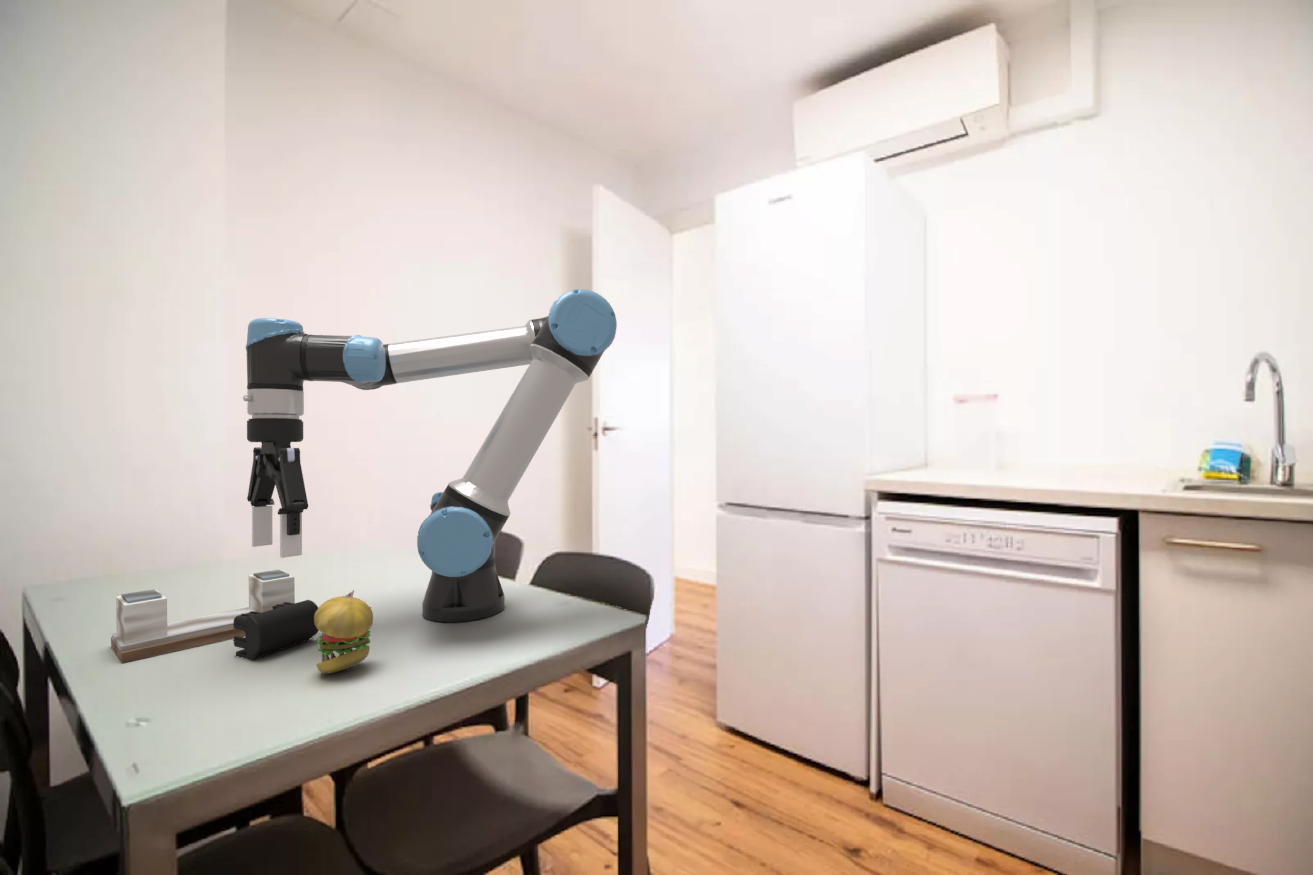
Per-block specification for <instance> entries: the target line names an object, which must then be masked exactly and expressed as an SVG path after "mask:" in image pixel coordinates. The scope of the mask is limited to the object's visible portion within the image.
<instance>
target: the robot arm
mask: <svg viewBox="0 0 1313 875" xmlns="http://www.w3.org/2000/svg"><path fill="white" fill-rule="evenodd" d="M617 326H618V325H617V317H616V313H615V311H614V308H613V307H612V305H611V304H610V302H608V300H607V299H606V298H605V297H604V296H603V295H601V294H599V293H597V292H596V291H593V290H590V289H584V288H577V289H571V290H569V291H567V292H564V293H563V294H562V295H560V296H559V297H558V298H556V299H555V300H554V301H553V303H552V305H551V306H550V308H549V313H548V316H544V317H542V318H541V317H539V318H535V319H534V318H533V319H528V321H527V322H526V324H524V325H522V326H513V327H508V328H507V327H506V328H498V329H492V330H483V331H477V332H476V331H475V332H469V333H460V334H453V335H445V336H437V337H430V338H423V339H413V340H406V341H400V342H391V343H387V344H385V343H383V342H382V341H381V339H379V338H378V337H375V336H374V337H372V336H363V335H359V334H357V335H356V334H355V335H329V334H328V335H327V334H326V335H324V334H308V333H305V331H304V328H303V327H304V326H303V325H302V324H301V322H297V321H295V320H290V319H284V318H282V319H281V318H275V317H260V318H259V317H258V318H254V319H253V320H251V321H250V322H249V323H248V325H247V338H246V345H245V350H246V375H247V378H246V381H247V386H246V388H247V390H246V391H247V394H245V395H243V397H242V399H243V401H244V402H247V404H246V405H247V408H246V410H247V414H248V415H249V416H251V418H248V420H246V440H247V441H248V442H250V443H261V445H260V447H257V446H256V447H254V448H253V450H252V452H253V458H252V466H251V472H250V479H249V485H248V490H247V491H248V492H247V497H246V500H247V502H250V505H251V547H253V548H255V547H264V546H272V545H273V506H275V501H274V498H272V497H273V493H274V492H275V487H276V491H277V495H278V498H279V503H280V506H281V507H280V508H279V509H278V510H277V515H279V557H280V558H281V559H284V558H290V557H291V558H292V557H297V556H302V555H303V523H302V522H303V513H304V510H307V509H308V508H309V502H308V498H307V497H308V496H307V492H306V487H305V486H306V485H305V480H304V474H303V469H302V463H301V450H300V448H299V447H292V446H291V445H292V444H291V443H301V442H302V441H304V421H303V420H302V419H300V417H302V416H303V415H305V414H304V412H305V410H304V408H305V406H304V405H305V404H304V403H305V402H304V401H305V399H304V397H305V396H304V395H305V393H304V382H335V383H344V384H346V385H350V386H352V387H354V388H356V389H358V390H362V391H368V390H369V391H370V390H371V391H372V390H377V389H380V388H382V387H384V386H391V385H396V384H404V383H409V382H416V381H423V380H428V379H429V380H430V379H438V378H443V377H444V378H445V377H450V376H457V375H464V374H473V373H478V372H485V371H493V370H499V369H506V368H515V367H519V366H526V365H527V366H528V367H527V368H526V370H525V372H524V373H523V375H522V377H521V378H520V380H519V381H518V383H517V386H516V388H515V389H514V390H513V393H512V394H511V396H510V397H509V398H508V401H507V402H506V404H505V405H504V407H503V408H502V411H501V413H500V414H499V416H498V417H497V419H496V420H495V423H494V424H493V426H492V427H491V429H490V431H489V433H488V435H487V436H486V437H485V439H484V442H483V443H482V445H481V446H480V448H479V449H478V452H477V453H476V455H475V456H474V458H473V460H472V461H471V463H470V465H469V466H468V468H467V470H466V472H464V473H465V474H464V475H463V476H462V477H461V478H459V479H455V480H451V481H450V482H448V484H447V486H446V488H445V489H444V491H440V492H436V493H434V494H433V495H432V497H431V504H430V505H429V506H430V510H431V512H430V514H429V515H428V516H427V517H425V519H424V520H423V522H421V523H420V526H419V527H418V528H419V529H418V531H417V538H416V539H417V541H416V542H417V543H416V545H417V546H416V548H417V551H418V556H419V557H420V559H421V561H422V562H423V564H424V565H425V566H426V567H427V568H428V569H429V570H430V571H431V576H430V578H429V582H428V584H427V588H426V590H425V594H424V597H423V600H422V604H421V605H422V607H421V608H422V611H421V612H422V613H421V614H422V617H423V618H425V619H426V620H429V621H432V622H433V621H434V622H443V623H457V622H458V623H460V622H468V621H475V620H481V619H484V618H489V617H491V616H494V615H497V614H499V613H500V612H502V611H503V610H504V609H505V608H506V604H505V603H506V598H505V593H504V590H503V587H502V584H501V581H500V578H499V576H498V575H499V574H498V573H497V569H496V540H497V539H498V536H499V535H500V533H501V531H502V529H503V528H504V526H505V525H506V523H507V521H508V519H509V518H510V516H511V510H510V507H509V500H510V498H511V497H512V495H513V493H514V491H515V490H516V488H517V486H518V485H519V482H520V481H521V479H522V478H523V476H524V474H525V472H526V471H527V468H529V465H530V464H531V462H532V460H533V458H534V456H535V455H536V453H537V451H538V450H539V448H540V446H541V445H542V443H543V441H544V439H545V438H546V437H547V434H548V432H549V430H550V429H551V427H552V426H553V424H554V422H555V421H556V418H557V416H558V415H559V413H560V412H561V411H562V408H563V406H564V405H565V404H566V403H565V402H566V401H567V399H568V398H569V396H570V394H571V393H572V391H573V390H574V387H575V386H576V385H577V384H578V383H582V382H586V381H588V380H589V378H590V377H591V375H592V373H593V372H594V370H595V368H596V366H597V365H598V363H599V361H600V359H601V357H602V356H603V354H604V353H605V351H606V350H607V349H608V348H610V347H611V345H612V344H613V342H614V340H615V338H616V334H617Z"/></svg>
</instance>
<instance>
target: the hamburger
mask: <svg viewBox="0 0 1313 875" xmlns="http://www.w3.org/2000/svg"><path fill="white" fill-rule="evenodd" d="M354 593H355V589H353V590H352V591H351V592H349V593H348V594H346V595H341V596H336V597H332V598H329V599H327V600H326V601H324V602H323V603H322V604H320V606H319V607H318V609H317V611H316V612H315V614H314V622H315V626H316V627H317V629H318V630H319V631H318V632H321V635H320V636H318V640H317V644H318V645H319V647H318V649H317V652H320V653H321V662H319V663H317V664H316V669H317V670H318V671H319V672H320V673H322V674H333V673H337V672H341V671H343V670H347V669H349V668H352V667H354V666H356V665H358V664H360V663H361V662H362V661H364V660H365V659H366V658H367V657H368V656H369V653H370V645H369V644H371V640H370V636H371V627H372V625H373V623H374V614H373V611H372V606H369V605H368V603H367V602H366V601H364V600H362V599H360V598H357V597H355V596H354ZM334 652H335V653H337V654H339V655H337V656H336V655H335V653H334ZM329 655H330V656H329Z"/></svg>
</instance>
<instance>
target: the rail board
mask: <svg viewBox="0 0 1313 875" xmlns="http://www.w3.org/2000/svg"><path fill="white" fill-rule="evenodd" d="M295 597H296V596H295V576H294V575H292V574H290V573H287V572H285V571H283V570H280V569H275V570H274V569H273V570H269V571H268V570H267V571H261V572H255V573H253V574H249V575H248V607H243V608H238V609H232V610H228V611H222V612H218V613H212V614H207V615H201V616H197V617H196V616H195V617H190V618H187V619H182V620H181V619H180V620H175V621H171V622H168V598H167V597H166V595H164V594H163V593H161V592H160V591H159V590H157V589H154V588H153V589H147V590H141V591H133V592H129V593H128V592H127V593H121V595H118V596H115V600H116V602H115V603H116V605H115V606H116V607H115V608H116V609H115V610H116V611H115V612H116V632H115V633H111V637H110V647H111V649H112V650H113V652H114V654H115V655H116V656H117V658H118V660H119V661H120V663H121V664H127V663H130V662H135V661H139V660H144V659H147V658H153V657H157V656H160V655H161V656H162V655H167V654H170V653H174V652H178V651H184V650H187V649H193V648H197V647H201V646H205V645H206V646H207V645H211V644H213V643H214V644H215V643H218V641H219V642H223V641H228V640H232V639H234V636H240V637H245V636H246V634H245V631H244V630H240V629H235V628H234V626H233V624H234V618H235V617H236V616H239V615H241V614H246V613H250V612H251V611H255V612H265V611H269V610H273V606H275V605H277V604H283V603H284V602H290V603H296V601H295Z"/></svg>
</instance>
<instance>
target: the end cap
mask: <svg viewBox="0 0 1313 875" xmlns="http://www.w3.org/2000/svg"><path fill="white" fill-rule="evenodd" d="M318 608H319V607H318V605H317V604H316V602H314V601H313V600H311V599H306V600H303V601H298V602H295V603H290V602H284V603H283V604H277V605H275V606H273V610H269V611H265V612H255V611H251V612H250V613H246V614H241V615H239V616H236V617H235V618H234V624H233V626H234V628H235V629H240V630H244V631H245V634H246V636H242V637H240V636H234V638H233V640H232V641H233V645H234V647H236V648H240V649H239V650H237V651H235V656H236V657H237V656H239V657H238V658H241V657H243V658H242V659H246V660H250V659H252V660H255V659H258V658H261V657H264V656H267V655H270V654H273V653H277V652H279V651H281V650H286V649H287V648H291V647H293V646H297V645H298V644H302V643H305V642H307V641H310V640H311V639H312V638H313V637H314V636H316V635H317V634H318V633H319V632H320V631H319V630H318V629H317V627H316V626H315V622H314V614H315V612H316V611H317V609H318Z"/></svg>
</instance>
